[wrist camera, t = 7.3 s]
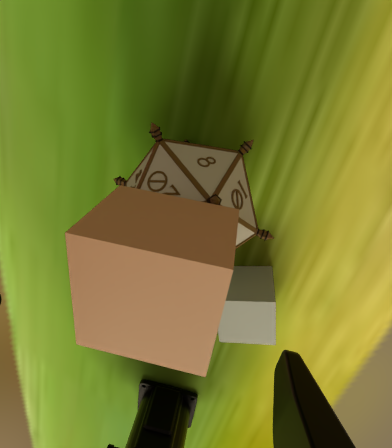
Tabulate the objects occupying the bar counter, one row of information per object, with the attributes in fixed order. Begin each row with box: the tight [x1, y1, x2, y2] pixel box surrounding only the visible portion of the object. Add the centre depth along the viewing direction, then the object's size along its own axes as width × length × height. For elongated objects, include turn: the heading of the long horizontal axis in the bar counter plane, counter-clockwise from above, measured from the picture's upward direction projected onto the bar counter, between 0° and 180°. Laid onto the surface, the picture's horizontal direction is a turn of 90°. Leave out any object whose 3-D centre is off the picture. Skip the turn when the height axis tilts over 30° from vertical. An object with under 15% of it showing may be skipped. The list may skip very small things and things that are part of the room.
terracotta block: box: [65, 185, 239, 377], centre depth 11 cm, size 5×5×4 cm
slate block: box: [218, 266, 276, 345], centre depth 21 cm, size 4×4×4 cm
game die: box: [114, 123, 273, 249], centre depth 16 cm, size 9×8×10 cm
